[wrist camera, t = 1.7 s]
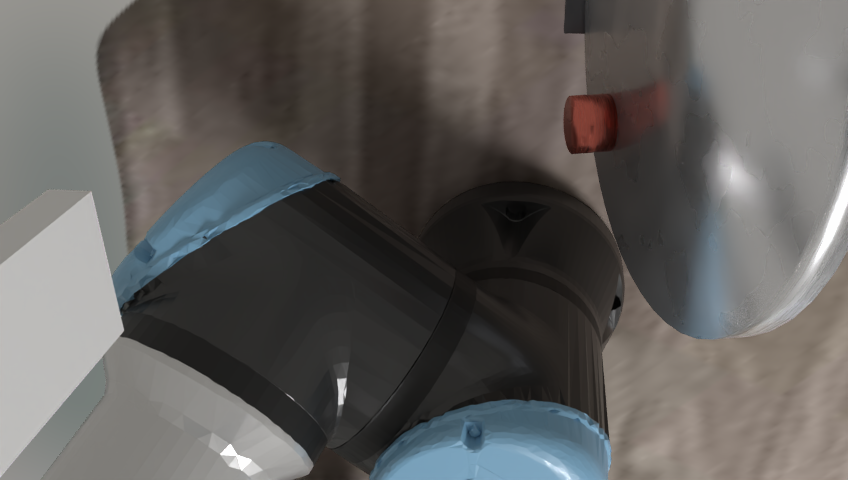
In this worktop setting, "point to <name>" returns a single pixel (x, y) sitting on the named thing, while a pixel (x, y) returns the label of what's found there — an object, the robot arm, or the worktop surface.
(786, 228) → the pot lid
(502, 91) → the worktop surface
